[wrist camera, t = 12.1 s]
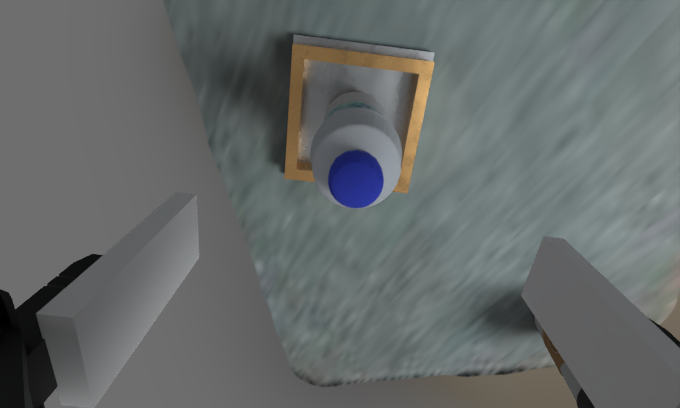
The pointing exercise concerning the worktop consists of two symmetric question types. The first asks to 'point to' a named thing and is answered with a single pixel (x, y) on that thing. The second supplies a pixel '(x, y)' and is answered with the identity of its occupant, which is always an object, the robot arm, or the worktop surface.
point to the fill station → (354, 76)
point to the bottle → (356, 152)
